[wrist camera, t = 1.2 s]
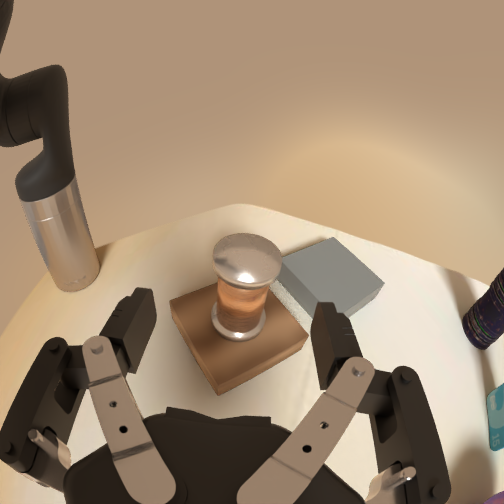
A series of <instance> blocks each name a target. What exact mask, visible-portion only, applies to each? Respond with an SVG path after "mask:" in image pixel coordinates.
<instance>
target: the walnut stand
mask: <svg viewBox="0 0 504 504" xmlns="http://www.w3.org/2000/svg"><path fill="white" fill-rule="evenodd" d="M217 290H218V283H215V284H212V285H210V286H207V287H204V288H202V289H199V290H197V291H194V292H191V293H189V294H186V295H183V296H181V297H178V298H175V299H173V300H170V307H171V313H172V318H173V320H174V322H175V324H176V325H177V327H178V329H179V331H180V333H181V335H182V337H183V338H184V340H185V342H186V344H187V346H188V347H189V349H190V351H191V353H192V354H193V356H194V358H195V359H196V361H197V363H198V365H199V366H200V368H201V370H202V371H203V373H204V375H205V376H206V378H207V379H208V381H209V383H210V384H211V386H212V387H213V389H214V391H215V392H216V394H217V395H218V396H219V395H221V394H223V393H225V392H227V391H229V390H231V389H233V388H234V387H236V386H238V385H240V384H242V383H244V382H246V381H248V380H250V379H251V378H253V377H255V376H257V375H259V374H260V373H262V372H264V371H266V370H268V369H269V368H271V367H273V366H274V365H276V364H278V363H280V362H281V361H283V360H285V359H286V358H288V357H290V356H291V355H293V354H294V353H296V352H298V351H299V350H301V348H302V347H303V345H304V343H305V341H306V340H307V338H308V336H309V335H308V333H307V332H306V331H305V330H304V329H303V328H302V326H301V325H300V324H299V323H298V322H297V321H296V319H295V318H294V317H293V316H292V315H291V314H290V313H289V311H288V310H287V309H286V308H285V307H284V306H283V304H282V303H281V302H280V301H279V300H278V298H277V297H276V296H275V295H274V294H273V293H272V291H271V290H270V289H269V290H268V294H267V297H266V301H265V305H264V310H265V314H266V319H265V323H264V326H263V329H262V331H261V333H260V334H259V335H258V336H257V337H256V338H254V339H252V340H250V341H247V342H232V341H229V340H226V339H224V338H222V337H221V336H220V335H219V334H218V333H217V332H216V331H215V330H214V328H213V326H212V322H211V312H212V307H213V305H214V304H215V302H216V301H217Z"/></svg>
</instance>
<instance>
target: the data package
mask: <svg viewBox="0 0 504 504" xmlns="http://www.w3.org/2000/svg"><path fill="white" fill-rule="evenodd" d="M487 410H488V420H489V432H490V447H491V449H492V450H493V451H497V450H500V449H502V448H504V383H503V384H502V385H501V386H499V387H498V388H496V389H495V390H493V391H492V392H491V393H490V394H489V395H488V397H487Z"/></svg>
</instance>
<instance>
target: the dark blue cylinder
mask: <svg viewBox="0 0 504 504" xmlns="http://www.w3.org/2000/svg"><path fill="white" fill-rule="evenodd" d="M463 329H464V332H465V334H466V336H467V338H468V340H469V341H470V342H471V343H472V344H473V345H474V346H475V347H476V348H478V349H481V350H484V349H487V348H488V347H489V346H490V345H491V344H492V343H494V342H495V341H496V340H497V339H498V338H499V337H500V336H501V335H502V334H503V333H504V268H503V270H502V271H501V272H500V273H499V274H498V275H497V277H496V278H495V280H494V281H493V282H492V283H491V285H490V288H489V289H488V290H487V292H486V293H485V294H484V295H483V296H482V297H481V298H479V299H478V300H477V301H476V303H475V304H474V305H473V306H472V307H471V309H470V310H469V311H468V313H466V314H465V316H464V317H463Z"/></svg>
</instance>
